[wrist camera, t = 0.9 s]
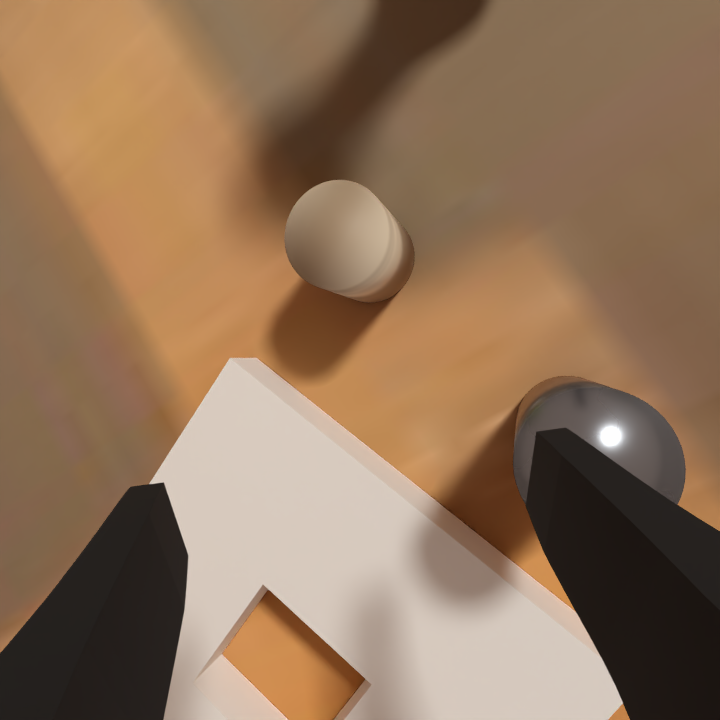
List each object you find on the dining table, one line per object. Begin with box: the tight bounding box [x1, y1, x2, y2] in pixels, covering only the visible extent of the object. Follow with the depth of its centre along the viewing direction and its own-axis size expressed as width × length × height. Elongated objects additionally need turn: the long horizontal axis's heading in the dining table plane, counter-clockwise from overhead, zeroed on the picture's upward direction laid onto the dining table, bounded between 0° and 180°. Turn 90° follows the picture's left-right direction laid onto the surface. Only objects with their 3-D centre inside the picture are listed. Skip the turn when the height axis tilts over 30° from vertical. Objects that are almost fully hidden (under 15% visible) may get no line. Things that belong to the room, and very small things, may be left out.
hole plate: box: [150, 358, 623, 720], centre depth 24 cm, size 20×20×2 cm
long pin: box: [513, 376, 686, 504], centre depth 18 cm, size 4×4×9 cm
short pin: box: [285, 180, 414, 303], centre depth 22 cm, size 4×4×5 cm
